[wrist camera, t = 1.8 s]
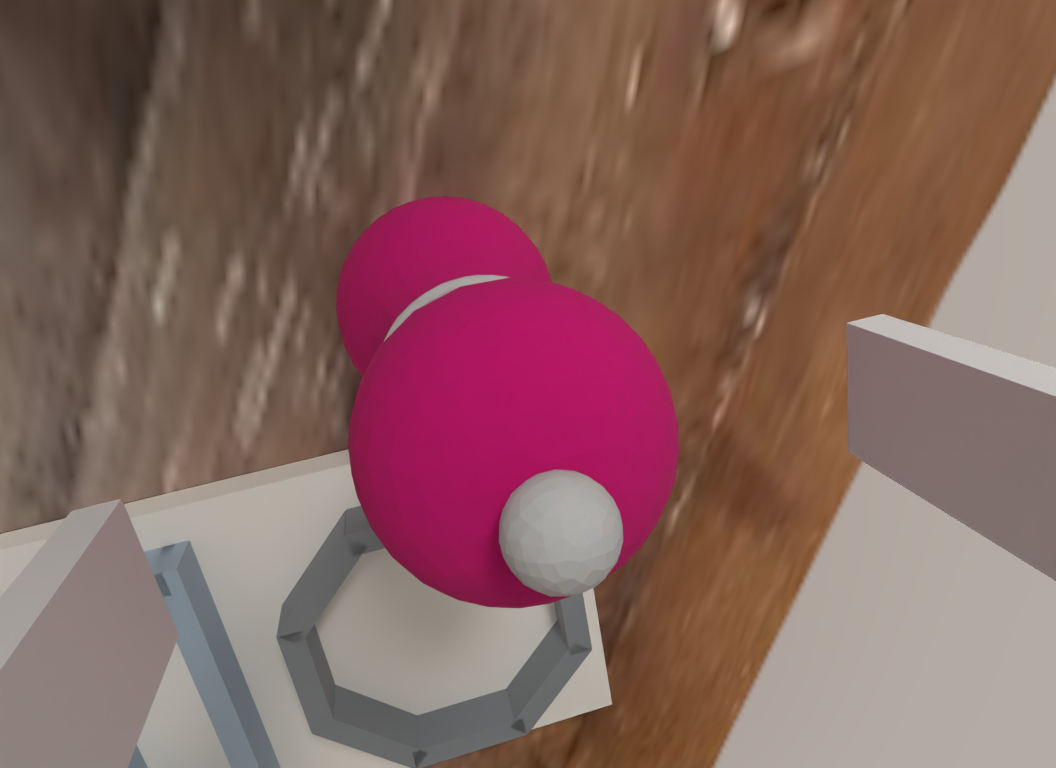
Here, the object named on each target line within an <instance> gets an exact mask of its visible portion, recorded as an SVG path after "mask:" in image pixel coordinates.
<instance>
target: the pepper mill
mask: <svg viewBox="0 0 1056 768" xmlns="http://www.w3.org/2000/svg"><path fill="white" fill-rule="evenodd" d="M336 310H337V316H338V323H339V328H340V331H341V335H342V338H343V342H344V345H345V348H346V350H347V352H348V354H349V356H350V358H351V360H352V362H353V364H354V366H355V367H356V369H357V370H358V371H359V373H360V374H361V375H362V377H363V378H362V379H361V382H360V385H359V388H358V392H357V395H356V399H355V403H354V407H353V411H352V415H351V419H350V426H349V440H348V450H349V458H350V466H351V474H352V478H353V482H354V486H355V490H356V494H357V497H358V500H359V502H360V504H361V507H362V509H363V511H364V514H365V516H366V518H367V521H368V523H369V525H370V527H371V529H372V530H373V532H374V533H375V534H376V536H377V537H378V538H379V540H380V541H381V543H382V544H383V545H384V547H385V548H386V550H387V551H388V552H389V554H390V555H391V556H392V557H393V558H394V559H395V560H396V561H397V562H398V563H399V564H400V565H402V566H403V567H404V568H405V569H406V570H408V571H409V572H410V573H411V574H412V575H414V576H415V577H416V578H417V579H418V580H419V581H421V582H422V583H423V584H425V585H427V586H429V587H431V588H433V589H435V590H437V591H439V592H441V593H443V594H445V595H448V596H450V597H452V598H455V599H457V600H460V601H464V602H468V603H473V604H477V605H481V606H486V607H498V608H526V607H532V606H538V605H545V604H550V603H553V602H556V601H559V600H562V599H565V598H568V597H571V596H574V595H577V594H580V593H583V592H586V591H588V590H590V589H592V588H594V587H596V586H597V585H598V584H599V583H601V582H602V581H603V580H604V579H605V578H606V577H607V576H609V575H610V574H611V573H613V572H614V571H616V570H617V569H618V568H620V567H621V566H623V565H624V564H625V563H626V562H627V561H628V560H629V559H630V558H631V557H632V556H633V555H634V554H635V553H636V552H637V551H638V550H639V549H640V548H641V547H642V545H643V544H644V542H645V541H646V539H647V538H648V536H649V535H650V534H651V532H652V531H653V529H654V528H655V526H656V525H657V522H658V520H659V518H660V516H661V514H662V512H663V510H664V508H665V506H666V504H667V501H668V499H669V497H670V495H671V491H672V488H673V485H674V482H675V476H676V469H677V462H678V454H679V445H678V423H677V419H676V414H675V410H674V405H673V401H672V396H671V392H670V389H669V387H668V385H667V382H666V380H665V378H664V376H663V374H662V372H661V369H660V367H659V365H658V363H657V361H656V359H655V357H654V356H653V354H652V353H651V351H650V350H649V349H648V347H647V346H646V344H645V343H644V341H643V340H642V338H641V337H640V336H639V335H638V334H637V333H636V332H635V331H634V330H633V329H632V328H631V327H630V326H629V325H628V324H627V323H626V322H625V321H624V320H623V319H622V318H621V317H620V316H619V315H617V314H616V313H614V312H613V311H611V310H610V309H608V308H607V307H606V306H604V305H603V304H601V303H600V302H598V301H597V300H595V299H593V298H591V297H589V296H587V295H584V294H582V293H580V292H578V291H576V290H573V289H571V288H568V287H565V286H561V285H558V284H555V283H552V281H551V278H550V275H549V272H548V269H547V267H546V264H545V262H544V260H543V258H542V256H541V255H540V253H539V251H538V249H537V248H536V246H535V245H534V244H533V243H532V241H531V240H530V239H529V238H528V236H527V235H526V234H525V233H524V232H523V231H522V230H521V228H520V227H519V226H518V225H516V224H515V223H514V222H513V221H511V220H510V219H509V218H507V217H506V216H505V215H504V214H502V213H501V212H499V211H497V210H495V209H493V208H491V207H489V206H487V205H485V204H483V203H479V202H476V201H472V200H468V199H465V198H457V197H447V196H443V197H429V198H424V199H420V200H416V201H412V202H408V203H406V204H404V205H401V206H399V207H397V208H394V209H392V210H391V211H389V212H388V213H386V214H384V215H383V216H381V217H380V218H378V219H377V220H376V221H375V222H374V223H373V224H372V225H370V226H369V227H368V228H367V229H366V230H365V231H364V232H363V233H362V235H361V236H360V237H359V239H358V240H357V241H356V242H355V244H354V245H353V247H352V249H351V250H350V252H349V254H348V256H347V258H346V260H345V262H344V265H343V268H342V271H341V274H340V277H339V282H338V288H337V303H336Z"/></svg>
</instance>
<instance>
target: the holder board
mask: <svg viewBox="0 0 1056 768" xmlns="http://www.w3.org/2000/svg"><path fill="white" fill-rule="evenodd" d="M124 506H125V508H126V510H127V513H128V515H129V518H130V520H131V522H132V525H133V527H134V529H135V532H136V534H137V536H138V539H139V541H140V544H141V546H142V548H143V551H144V553H145V555H146V558H147V560H148V562H149V565H150V567H151V570H152V572H153V574H154V577H155V579H156V581H157V584H158V586H159V588H160V591H161V593H162V596H163V598H164V600H165V603H166V605H167V607H168V610H169V612H170V614H171V617H172V619H173V621H174V624H175V626H176V629H177V631H178V633H179V637H178V639H177V642H176V645H175V647H174V650H173V652H172V655H171V657H170V660H169V663H168V665H167V668H166V670H165V673H164V676H163V678H162V681H161V683H160V686H159V688H158V691H157V694H156V696H155V699H154V701H153V704H152V706H151V709H150V712H149V714H148V717H147V719H146V722H145V724H144V727H143V730H142V732H141V735H140V737H139V740H138V743H137V745H136V748H135V750H134V753H133V755H132V758H131V761H130V763H129V766H128V768H424V767H427V766H430V765H433V764H436V763H440V762H443V761H446V760H449V759H452V758H455V757H459V756H462V755H465V754H468V753H471V752H474V751H478V750H481V749H484V748H487V747H490V746H494V745H497V744H500V743H503V742H506V741H509V740H513V739H516V738H519V737H522V736H525V735H527V734H528V733H529V732H530V731H531V730H532V729H535V728H539V727H542V726H545V725H548V724H551V723H554V722H558V721H561V720H564V719H567V718H570V717H574V716H577V715H580V714H583V713H586V712H589V711H593V710H596V709H599V708H602V707H605V706H609V705H612V701H611V694H610V688H609V682H608V676H607V670H606V664H605V657H604V651H603V645H602V639H601V633H600V627H599V621H598V614H597V608H596V602H595V596H594V590H593V588H592V589H590V590H588V591H586V592H583V593H580V594H577V595H574V596H571V597H568V598H565V599H562V600H559V601H556V602H553V603H550V604H545V605H538V606H532V607H526V608H498V607H486V606H481V605H477V604H473V603H468V602H464V601H460V600H457V599H455V598H452V597H450V596H448V595H445V594H443V593H441V592H439V591H437V590H435V589H433V588H431V587H429V586H427V585H425V584H423V583H422V582H421V581H419V580H418V579H417V578H416V577H415V576H414V575H412V574H411V573H410V572H409V571H408V570H406V569H405V568H404V567H403V566H402V565H400V564H399V563H398V562H397V561H396V560H395V559H394V558H393V557H392V556H391V555H390V554H389V552H388V551H387V550H386V548H385V547H384V545H383V544H382V543H381V541H380V540H379V538H378V537H377V536H376V534H375V533H374V532H373V530H372V529H371V527H370V525H369V523H368V521H367V518H366V516H365V514H364V511H363V509H362V507H361V504H360V502H359V500H358V497H357V494H356V490H355V486H354V482H353V478H352V474H351V466H350V458H349V450H348V449H347V450H343V451H339V452H335V453H331V454H327V455H323V456H319V457H315V458H310V459H306V460H302V461H298V462H294V463H290V464H286V465H282V466H278V467H274V468H269V469H265V470H261V471H257V472H253V473H249V474H245V475H241V476H237V477H232V478H228V479H224V480H220V481H216V482H212V483H208V484H204V485H200V486H196V487H191V488H187V489H183V490H179V491H175V492H171V493H167V494H163V495H159V496H155V497H150V498H146V499H142V500H138V501H134V502H130V503H126V504H124ZM64 519H65V518H64ZM64 519H60V520H56V521H52V522H48V523H44V524H40V525H36V526H31V527H27V528H23V529H19V530H15V531H11V532H7V533H3V534H0V597H1V596H2V595H3V593H4V592H5V591H6V590H7V589H8V587H9V586H10V585H11V584H12V582H13V581H14V580H15V579H16V578H17V576H18V575H19V574H20V573H21V572H22V570H23V569H24V568H25V567H26V565H27V564H28V563H29V562H30V561H31V559H32V558H33V557H34V556H35V555H36V553H37V552H38V551H39V550H40V548H41V547H42V546H43V545H44V544H45V542H46V541H47V540H48V539H49V538H50V536H51V535H52V534H53V533H54V532H55V530H56V529H57V528H58V527H59V525H60V524H61V523H62V522H63V521H64Z"/></svg>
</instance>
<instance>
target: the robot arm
mask: <svg viewBox="0 0 1056 768" xmlns="http://www.w3.org/2000/svg"><path fill="white" fill-rule="evenodd" d="M847 382H848V452H849V453H850V454H852V455H853V456H855V457H857V458H858V459H860V460H862V461H863V462H865V463H866V464H868V465H870V466H871V467H873V468H875V469H876V470H878V471H880V472H881V473H883V474H884V475H886V476H887V477H889V478H891V479H892V480H894V481H896V482H897V483H899V484H900V485H902V486H904V487H905V488H907V489H908V490H910V491H912V492H913V493H915V494H916V495H918V496H920V497H921V498H923V499H924V500H926V501H928V502H929V503H931V504H933V505H934V506H936V507H937V508H939V509H941V510H942V511H944V512H945V513H947V514H949V515H950V516H952V517H954V518H955V519H957V520H958V521H960V522H962V523H963V524H965V525H967V526H968V527H970V528H971V529H973V530H975V531H976V532H978V533H979V534H981V535H983V536H984V537H986V538H987V539H989V540H991V541H992V542H994V543H995V544H997V545H999V546H1000V547H1002V548H1004V549H1005V550H1007V551H1008V552H1010V553H1012V554H1013V555H1015V556H1016V557H1018V558H1020V559H1021V560H1023V561H1025V562H1026V563H1028V564H1029V565H1031V566H1033V567H1034V568H1036V569H1038V570H1039V571H1041V572H1042V573H1044V574H1045V575H1047V576H1049V577H1051V578H1052V579H1054V580H1055V581H1056V368H1054V367H1051V366H1047V365H1045V364H1041V363H1038V362H1035V361H1032V360H1029V359H1025V358H1022V357H1019V356H1015V355H1012V354H1009V353H1006V352H1003V351H999V350H996V349H993V348H990V347H987V346H983V345H980V344H977V343H974V342H970V341H967V340H964V339H961V338H958V337H955V336H951V335H948V334H945V333H942V332H939V331H935V330H932V329H929V328H926V327H923V326H919V325H916V324H913V323H910V322H906V321H903V320H900V319H897V318H894V317H890V316H887V315H884V314H881V315H877V316H873V317H868V318H864V319H860V320H856V321H852V322H848V323H847ZM178 637H179V633H178V631H177V629H176V626H175V624H174V621H173V619H172V617H171V614H170V612H169V610H168V607H167V605H166V603H165V600H164V598H163V596H162V593H161V591H160V588H159V586H158V584H157V581H156V579H155V577H154V574H153V572H152V570H151V567H150V565H149V562H148V560H147V558H146V555H145V553H144V551H143V548H142V546H141V544H140V541H139V539H138V536H137V534H136V532H135V529H134V527H133V525H132V522H131V520H130V518H129V515H128V513H127V510H126V508H125V506H124V503H123V501H122V499H118V500H114V501H110V502H106V503H102V504H98V505H93V506H89V507H85V508H81V509H77V510H73V511H71V512H70V513H69V515H68V516H67V517H66V518H65V519H64V521H63V522H62V523H61V524H60V525H59V527H58V528H57V529H56V530H55V532H54V533H53V534H52V535H51V536H50V538H49V539H48V540H47V541H46V542H45V544H44V545H43V546H42V547H41V548H40V550H39V551H38V552H37V553H36V555H35V556H34V557H33V558H32V559H31V561H30V562H29V563H28V564H27V565H26V567H25V568H24V569H23V570H22V572H21V573H20V574H19V575H18V576H17V578H16V579H15V580H14V581H13V582H12V584H11V585H10V586H9V587H8V589H7V590H6V591H5V592H4V593H3V595H2V596H1V597H0V768H128V766H129V763H130V761H131V758H132V755H133V753H134V750H135V748H136V745H137V743H138V740H139V737H140V735H141V732H142V730H143V727H144V724H145V722H146V719H147V717H148V714H149V712H150V709H151V706H152V704H153V701H154V699H155V696H156V694H157V691H158V688H159V686H160V683H161V681H162V678H163V676H164V673H165V670H166V668H167V665H168V663H169V660H170V657H171V655H172V652H173V650H174V647H175V645H176V642H177V639H178Z"/></svg>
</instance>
